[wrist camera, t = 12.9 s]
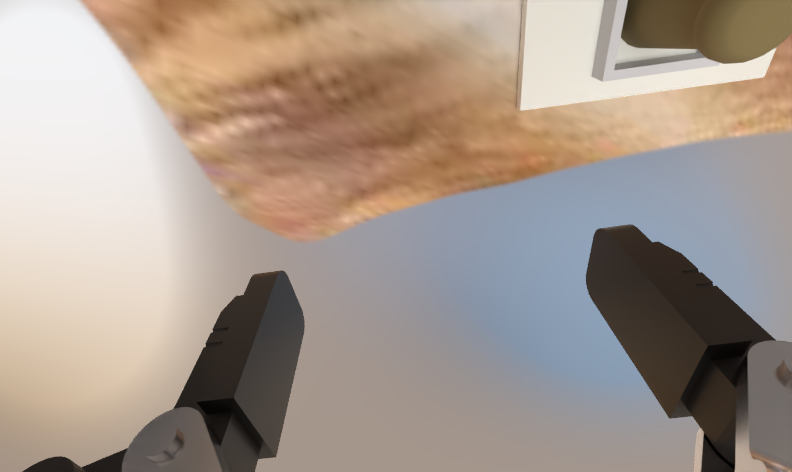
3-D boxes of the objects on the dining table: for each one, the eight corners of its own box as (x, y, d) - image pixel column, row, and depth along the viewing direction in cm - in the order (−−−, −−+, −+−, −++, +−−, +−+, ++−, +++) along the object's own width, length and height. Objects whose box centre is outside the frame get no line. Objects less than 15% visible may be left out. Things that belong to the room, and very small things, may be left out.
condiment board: (527, -82, 27) (542, -89, 25) (836, -133, 26) (886, -145, 24) (516, 107, 36) (527, 117, 33) (753, 74, 34) (783, 82, 32)
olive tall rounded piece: (712, -16, 29) (858, -13, 20) (653, 60, 32) (758, 92, 23) (656, -56, 28) (788, -72, 19) (600, 28, 31) (690, 49, 22)
